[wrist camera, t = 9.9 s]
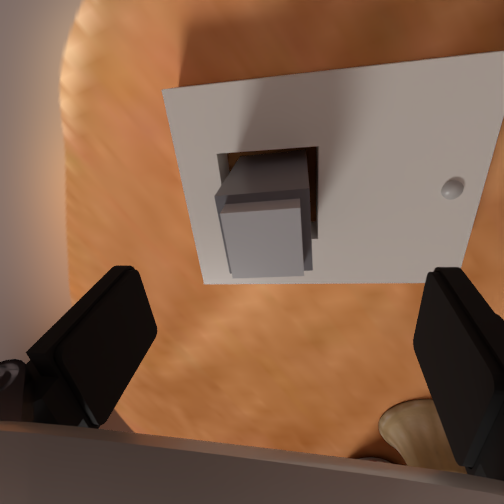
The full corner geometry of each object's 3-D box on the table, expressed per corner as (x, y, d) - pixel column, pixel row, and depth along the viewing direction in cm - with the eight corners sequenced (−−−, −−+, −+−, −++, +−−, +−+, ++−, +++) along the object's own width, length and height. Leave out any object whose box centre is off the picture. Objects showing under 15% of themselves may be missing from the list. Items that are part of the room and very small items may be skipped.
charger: (305, 149, 18) (310, 197, 12) (308, 211, 20) (313, 283, 14) (240, 156, 19) (208, 205, 12) (249, 215, 21) (225, 285, 14)
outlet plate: (490, 51, 15) (525, 48, 13) (440, 260, 21) (457, 284, 19) (178, 86, 18) (160, 89, 15) (212, 264, 24) (203, 285, 21)
